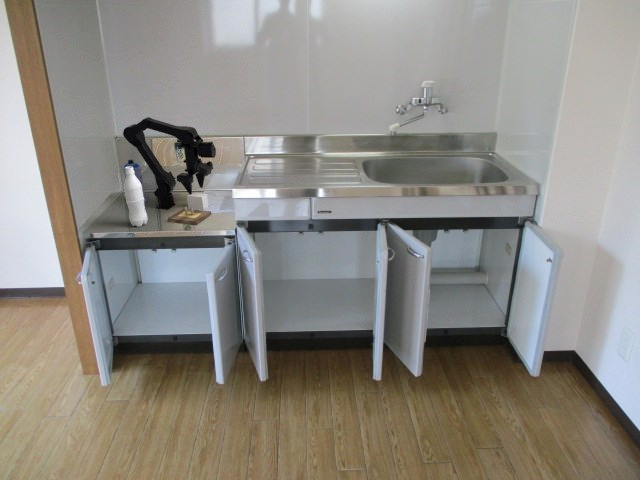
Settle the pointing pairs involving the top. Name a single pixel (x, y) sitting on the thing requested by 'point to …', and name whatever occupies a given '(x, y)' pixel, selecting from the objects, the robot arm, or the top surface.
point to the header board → (189, 216)
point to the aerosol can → (136, 174)
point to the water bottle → (134, 198)
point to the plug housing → (197, 201)
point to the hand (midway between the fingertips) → (196, 191)
